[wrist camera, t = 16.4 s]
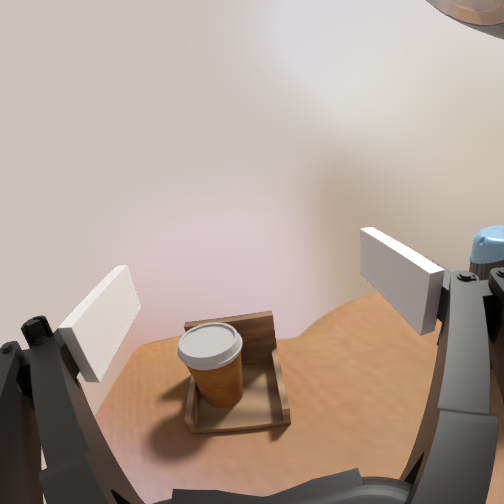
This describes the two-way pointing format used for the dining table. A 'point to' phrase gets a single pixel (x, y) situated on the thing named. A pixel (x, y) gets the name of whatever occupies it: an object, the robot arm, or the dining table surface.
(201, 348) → the disposable coffee cup
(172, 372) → the dining table surface
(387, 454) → the dining table surface
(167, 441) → the dining table surface
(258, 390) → the cradle
